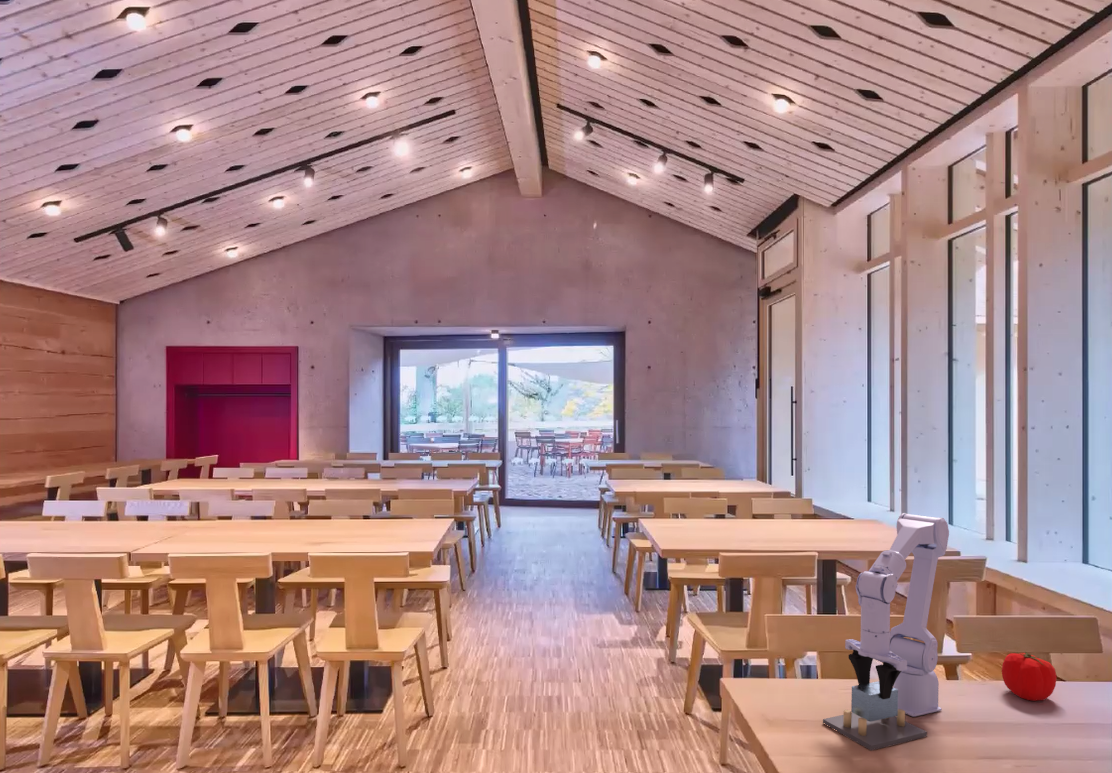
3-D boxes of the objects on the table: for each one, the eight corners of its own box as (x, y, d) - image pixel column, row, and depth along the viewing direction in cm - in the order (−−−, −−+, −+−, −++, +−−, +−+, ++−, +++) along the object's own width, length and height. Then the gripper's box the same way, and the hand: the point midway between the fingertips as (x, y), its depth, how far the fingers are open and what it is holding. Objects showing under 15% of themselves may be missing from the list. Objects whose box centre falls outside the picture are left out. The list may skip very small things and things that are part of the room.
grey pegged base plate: (876, 711, 165) (876, 694, 165) (927, 736, 153) (927, 717, 153) (822, 723, 158) (823, 705, 158) (871, 750, 146) (871, 730, 146)
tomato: (1004, 700, 172) (1004, 657, 172) (999, 682, 184) (999, 641, 184) (1061, 711, 167) (1061, 665, 167) (1052, 691, 178) (1053, 649, 179)
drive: (878, 706, 160) (878, 681, 160) (897, 715, 155) (897, 689, 155) (851, 712, 156) (851, 686, 156) (870, 721, 152) (870, 695, 152)
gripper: (835, 621, 161) (834, 683, 161) (889, 642, 148) (889, 709, 147) (858, 618, 164) (858, 678, 164) (914, 637, 151) (913, 703, 150)
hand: (874, 693), depth 156 cm, fingers closed on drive, 5 cm apart
